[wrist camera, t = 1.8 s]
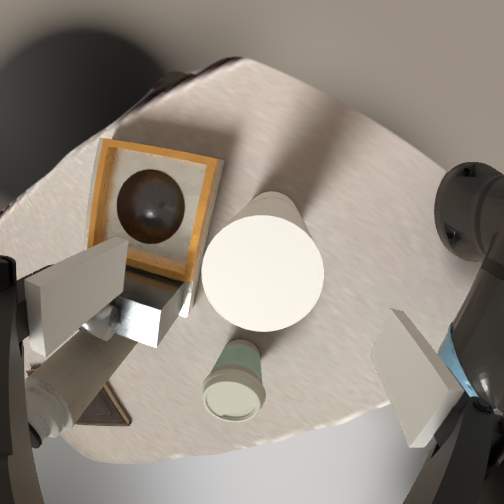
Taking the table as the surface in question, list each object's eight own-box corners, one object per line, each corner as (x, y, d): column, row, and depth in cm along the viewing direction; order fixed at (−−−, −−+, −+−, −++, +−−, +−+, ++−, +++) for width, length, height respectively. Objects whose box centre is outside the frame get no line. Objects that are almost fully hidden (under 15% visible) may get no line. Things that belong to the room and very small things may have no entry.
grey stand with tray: (224, 160, 41) (188, 151, 24) (193, 307, 46) (151, 373, 30) (111, 139, 41) (33, 129, 24) (92, 274, 47) (24, 317, 30)
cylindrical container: (239, 199, 42) (185, 234, 18) (290, 185, 41) (307, 200, 17) (253, 249, 43) (223, 341, 19) (303, 235, 42) (334, 316, 18)
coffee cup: (214, 372, 49) (198, 420, 38) (215, 328, 47) (197, 373, 35) (265, 378, 49) (261, 428, 37) (271, 334, 46) (268, 382, 35)
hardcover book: (31, 366, 55) (25, 371, 53) (96, 360, 52) (90, 366, 50) (64, 418, 59) (59, 424, 57) (132, 420, 55) (128, 427, 53)
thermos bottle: (138, 353, 50) (55, 469, 23) (99, 337, 50) (5, 436, 23) (142, 315, 48) (42, 430, 21) (101, 299, 48) (-11, 392, 21)
